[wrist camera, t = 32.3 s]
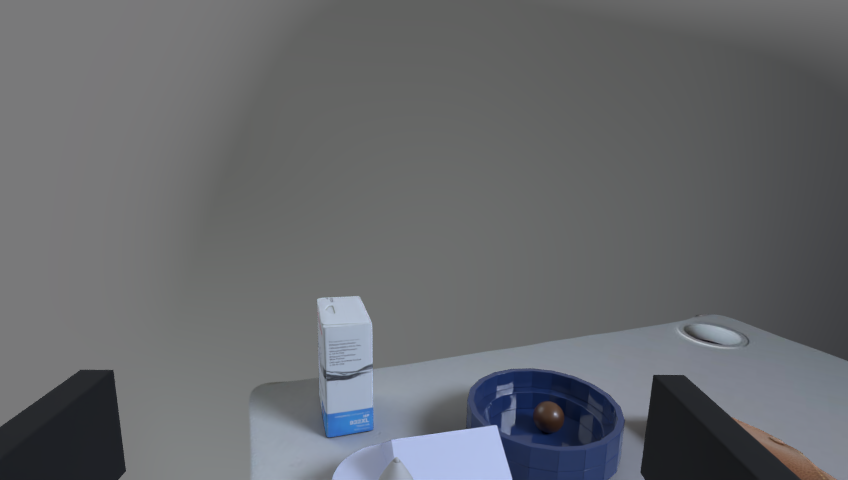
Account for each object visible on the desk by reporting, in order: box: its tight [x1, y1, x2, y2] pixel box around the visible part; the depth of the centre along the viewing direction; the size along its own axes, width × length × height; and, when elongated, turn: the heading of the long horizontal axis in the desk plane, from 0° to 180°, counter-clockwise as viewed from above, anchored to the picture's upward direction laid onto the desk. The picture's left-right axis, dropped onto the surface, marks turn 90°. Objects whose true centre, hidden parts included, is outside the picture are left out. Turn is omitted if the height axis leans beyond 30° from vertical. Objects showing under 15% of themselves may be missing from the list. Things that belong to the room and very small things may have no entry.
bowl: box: [466, 368, 625, 480], centre depth 47 cm, size 14×14×4 cm
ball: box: [533, 401, 564, 433], centre depth 48 cm, size 3×3×3 cm
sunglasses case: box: [732, 417, 837, 480], centre depth 43 cm, size 18×7×7 cm
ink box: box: [317, 296, 373, 437], centre depth 51 cm, size 8×5×12 cm, turn 16°
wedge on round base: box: [332, 425, 512, 480], centre depth 38 cm, size 9×7×13 cm
